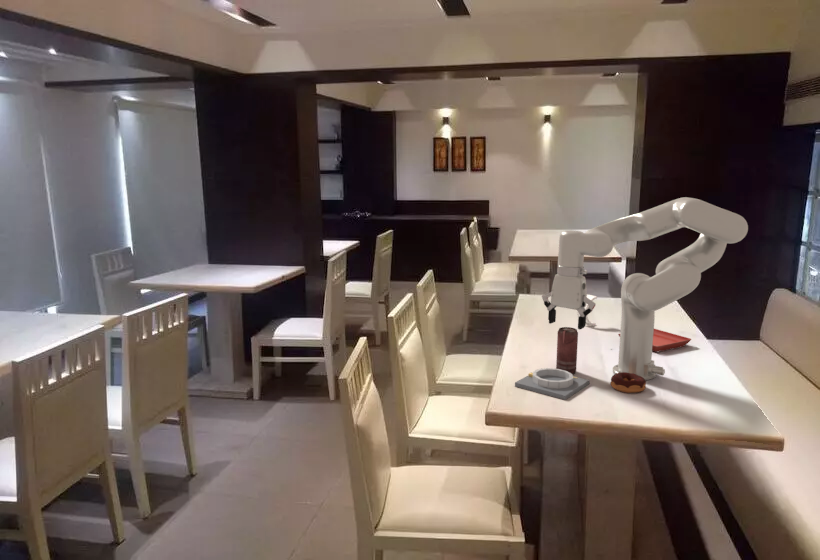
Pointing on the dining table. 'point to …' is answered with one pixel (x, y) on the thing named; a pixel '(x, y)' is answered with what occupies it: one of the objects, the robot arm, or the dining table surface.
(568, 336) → the can
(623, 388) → the donut
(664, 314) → the dining table surface
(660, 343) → the plant saucer
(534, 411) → the dining table surface
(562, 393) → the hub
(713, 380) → the dining table surface
